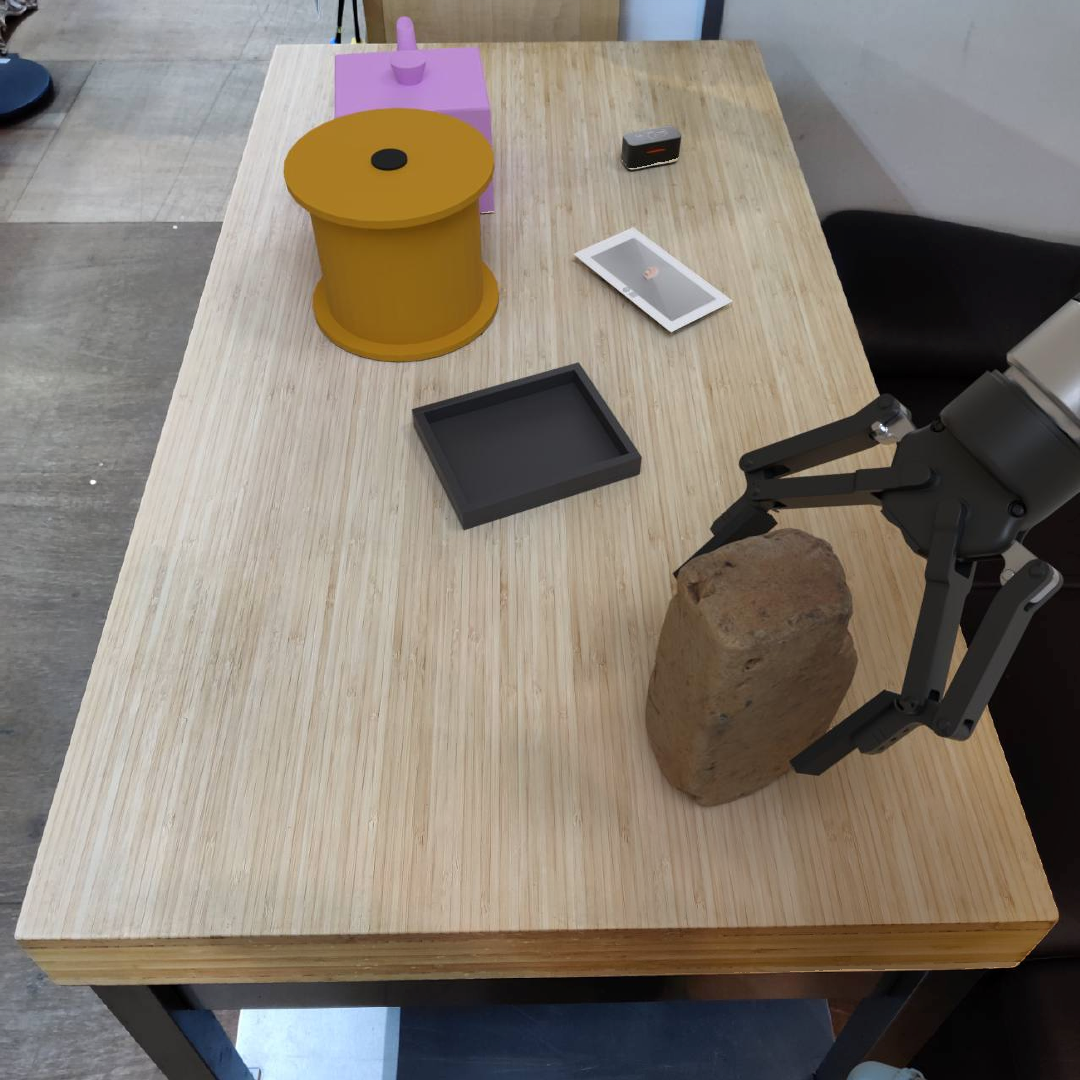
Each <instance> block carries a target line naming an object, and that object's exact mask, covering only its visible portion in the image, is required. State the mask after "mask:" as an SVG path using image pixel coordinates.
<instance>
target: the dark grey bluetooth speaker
mask: <svg viewBox="0 0 1080 1080" xmlns="http://www.w3.org/2000/svg"><path fill="white" fill-rule="evenodd" d="M621 142H622V143H621V153H620V154H621V156H620V160H621V159H622V160H623V162H624V163H625V164H626V166H627V167H628V168H637V167H642V166H647V165H651V164H654V163H657V162H665V161H669V160H672V159H676V158H678V157H679V158H680V153H681V152H680V151H681V144H682V143H681V142H682V133H681V132H680V131H679V130H678V128H676V126H674V125H665V126H659V127H652V128H649V129H647V128H646V129H641V130H636V131H631V132H626V133H625V132H624V133H623V135H622V141H621ZM622 160H621V161H622ZM623 162H622V163H623ZM624 163H623V164H624ZM626 166H625V167H626ZM627 167H626V168H627Z"/></svg>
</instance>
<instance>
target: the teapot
mask: <svg viewBox="0 0 1080 1080" xmlns="http://www.w3.org/2000/svg"><path fill="white" fill-rule="evenodd" d="M416 39H417V38H416V35H415V26H414V23H413V20H412V19H411V18H410V17H409V16H406V15H405V16H400V17H399V18H398V19H397V21H396V50H391V51H390V50H387V51H375V52H374V51H371V52H356V53H355V52H354V53H340V54H339V53H337V54H335V55H334V118H333V119H336V118H338V117H341V116H345V115H349V114H352V113H356V112H361V111H368V110H374V109H386V108H410V109H421V110H428V111H434V112H438V113H442V114H445V115H449V116H452V117H454V118H457V119H459V120H461V121H464V122H466V123H468V124H469V125H471V126H472V127H474V128H475V129H477V130H478V131H479V132H480V133H481V134H482V135H483V136H484V137H485V138H486V139H487V140H488V142H489V144H490V146H491V147H492V148H493V141H492V140H493V137H492V111H491V104H490V100H489V95H488V89H487V84H486V79H485V78H486V77H485V73H484V67H483V63H482V62H483V61H482V57H481V52H480V48H479V47H478V46H464V47H463V46H462V47H446V48H445V47H443V48H428V49H427V48H426V49H425V48H423V49H419V48H418V44H417V41H416ZM494 194H495V193H494V177H493V178H492V181H491V182H490V184H489V186H488V188H487V189H486V191H485V192H484V193H483V194H482V195H481V196H480V197H479V213H482V212H488V211H494V212H495V196H494Z"/></svg>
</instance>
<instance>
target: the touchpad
mask: <svg viewBox="0 0 1080 1080" xmlns="http://www.w3.org/2000/svg"><path fill="white" fill-rule="evenodd" d="M573 255H574V256H575V257H576V258H577V259H578V260H580V261H581V262H582V263H584V265H586V266H587V267H589V269H590V270H593V272H595V273H596V274H597V275H598V276H600V277H601V278H602V279H604V281H605V282H607V283H609V284H610V286H612V287H613V288H615V289H616V290H617V291H619V292H620V293H621V294H622V295H623V296H625V297H626V298H627V299H629V300H630V301H631V302H632V303H634V305H636V306H637V307H638V308H640V309H641V310H642V311H643V312H645V313H646V314H647V315H649V316H650V317H651V318H652V319H654V321H656V322H657V323H658V324H659V325H661V326H662V327H664V328H665V330H667V331H668V332H670V333H673V332H674V331H677V330H679V329H681V328H683V327H685V326H687V325H689V324H690V323H693V322H694V321H696V320H698V319H700V318H703V317H704V316H706V315H708V314H711V313H712V312H715V311H717V310H718V309H721V308H723V307H724V306H727V305H729V304H730V303H732V302H733V300H732V299H731V298H730V297H728V296H727V295H726V294H724V293H723V292H721V291H720V290H719V289H717V287H715V286H713V285H712V284H710V283H709V282H708V281H707V280H705V279H704V278H702V277H701V276H700V275H698V274H697V273H696V272H695V271H693V270H691V269H690V267H687V266H686V265H685V264H683V263H682V262H681V261H680V260H678V259H677V258H675V257H674V256H672V255H671V254H670V253H669V252H667V251H666V250H664V249H663V248H662V247H661V246H659V245H658V244H657V243H655V242H654V241H653V240H651V238H649V237H647V236H646V235H644V234H643V233H642V232H640V231H639V230H637V228H635V227H634V226H632V227H631V228H628V229H626V230H624V231H622V232H619V233H617V234H614V235H612V236H610V237H608V238H606V239H603V240H601V241H599V242H597V243H594V244H592V245H590V246H587V247H585V248H582V249H581V250H579V251H576V252H574V253H573Z"/></svg>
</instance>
